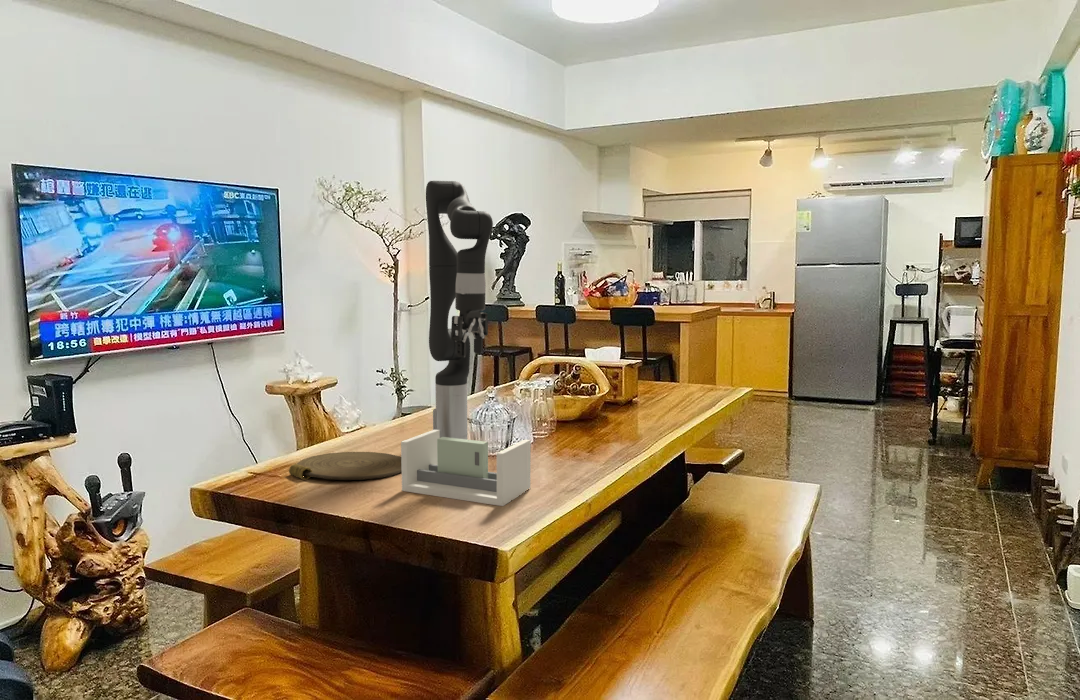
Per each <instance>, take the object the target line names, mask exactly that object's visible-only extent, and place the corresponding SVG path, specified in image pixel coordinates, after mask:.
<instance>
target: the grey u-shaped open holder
mask: <svg viewBox="0 0 1080 700" xmlns="http://www.w3.org/2000/svg"><path fill="white" fill-rule="evenodd" d="M438 438H440V430H433V429H431V430H430V431H426V432H423V433H422V434H418V435H415V436H413V437H410V438H407V439H405V440H402V441H400V448H401V449H400V451H401V452H400V453H401V454H400V455H401V456H400V457H401V469H402V472H401V491H402V492H407V493H413V494H414V493H415V494H420V495H427V496H434V497H441V498H448V499H453V500H461V501H466V502H467V501H468V502H475V503H479V504H486V505H492V506H493V505H494V506H500V507H504V506H505V505H507V504H509V503H510V502H512V501H513V500H515V499H516V498H518V497H519V495H520V496H521V495H523V494H524V493H526V492H527V491H526V490H527V489H529V488H530V489H531V443H532V442H531V439H522V440H520V441H519V442H516V443H515V444H514V443H513V445H511V446H509V447H506V448H505V449H502V450H501V451H498V452H496V472H494V471H488V478H480V477H473V476H466V475H458V474H451V473H444V472H438V462H437V439H438ZM530 489H529V490H530ZM525 491H526V492H525ZM523 492H524V493H523ZM522 493H523V494H522ZM511 500H512V501H511Z"/></svg>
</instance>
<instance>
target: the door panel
mask: <svg viewBox="0 0 1080 700" xmlns="http://www.w3.org/2000/svg"><path fill="white" fill-rule="evenodd" d="M437 462H438V472H444V473H451V474H458V475H466V476H473V477H480V478H488V472H489V442H488V441H482V440H475V439H468V438H467V439H458V438H449V437H441V438H438V439H437Z"/></svg>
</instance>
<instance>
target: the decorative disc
mask: <svg viewBox="0 0 1080 700" xmlns="http://www.w3.org/2000/svg"><path fill="white" fill-rule="evenodd" d="M288 473H289V474H290V476H293V475H294V476H293V477H295V476H296V477H297V478H299V479H300V480H303V479H306V480H309V479H310V478H311V477H312V478H319V479H324V480H336V481H337V480H339V481H348V480H349V481H351V480H352V481H353V480H354V481H355V480H356V481H357V480H361V481H363V480H370V479H371V480H372V479H380V478H386V477H392V476H396V475H399V474H402V469H401V456H399V455H395V454H391V453H387V452H385V453H383V452H376V451H374V452H373V451H341V452H340V451H339V452H330V453H323V454H318V455H312V456H309V457H307V458H304V459H302V460H300V461H298V462H297V463H295V464H294V463H293V464H291V466H289V469H288ZM303 476H304V477H303ZM296 477H295V478H296ZM308 478H309V479H308Z"/></svg>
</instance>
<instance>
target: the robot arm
mask: <svg viewBox="0 0 1080 700" xmlns="http://www.w3.org/2000/svg"><path fill="white" fill-rule="evenodd" d="M425 186H426V188H425V207H426V216H427V218H426V219H427V227H428V228H427V229H428V251H429V252H428V265H429V266H428V270H429V271H428V272H429V275H428V276H429V288H430V289H429V291H430V293H429V295H430V297H429V298H430V311H429V312H430V314H429V315H430V316H429V318H430V319H429V331H428V347H429V352H430V355H431V357H432V359H433V360H435V361H436V362H446V361H447V362H448V363H447V365H446V366H445V367H444V368H443V369H442V370H440V371H439V372H437V373H436V374H435V380H434V381H435V383H434V384H435V408H433V410H432V427H433V428H432V430H440V438H441V437H449V438H458V439H467V440H468V435H469V433H468V377H469V374H470V366H471V365H470V363H471V362H470V361H471V339H470V337H469V336H470V335H471V333H472V335H473V337H474V338H473V353H474V354H482V353H483V341H484V340H483V339H485V337H486V336H488V333H489V331H488V330H489V325H488V324H489V323H488V318H489V317H488V313H487V312H483V311H484V310H486V287H487V286H486V275H485V274H486V255H487V250H488V244H489V241H490V239H491V236H492V233H493V227H494V222H493V218H492V216H491V214H490V213H489V212H487V211H484V210H483V211H482V210H477V209H476V208H475V207H474V206H473V205H472V203H470V198H469V196H468V193H467V190H466V188H465V185H463V183H461V182H460V181H456V180H429V181H428V182H427V184H426V185H425ZM440 214H442V215H446V214H447V217H448V219H449V221H450V223H449V224H450V225H449V227H450V228H449V229H450V233H451V235H452V236H453V237H454V238H456V239H458V240H459V239H460V240H476V243H475V244H474V246H472V247H468V248H462V249H460V250H458V251H457V249H456V248H455V247H454V245H453V243H452V242H451V241H450V239H449V237H448V236H447V234H446V233H445V230H444V228H443V225H442V223H441V219H440V218H441V217H440ZM454 301H455V303H454ZM453 303H454V304H455V310H456V311H459V315H452V316H451V326H450V327H451V328H449V314H450V310H451V307H452V305H453Z"/></svg>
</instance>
